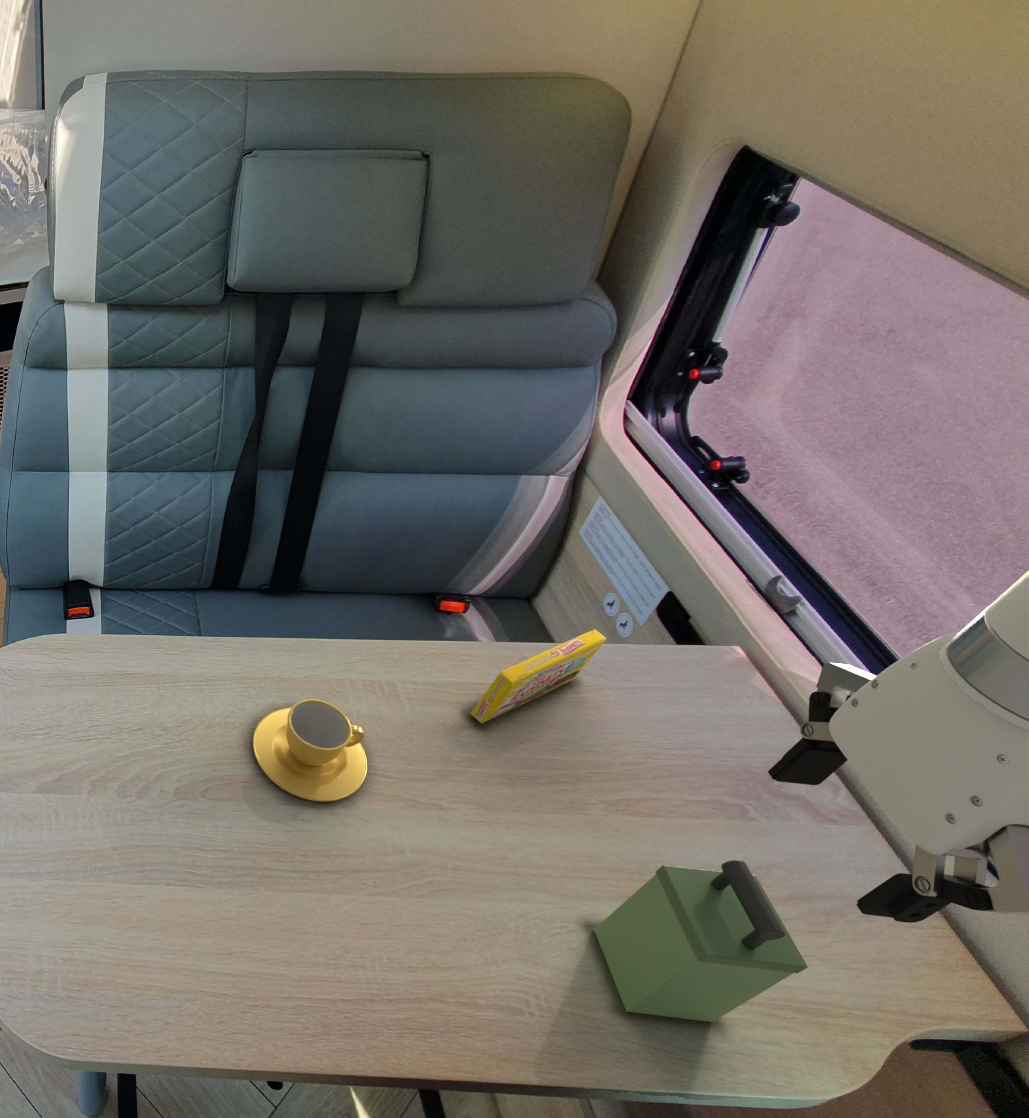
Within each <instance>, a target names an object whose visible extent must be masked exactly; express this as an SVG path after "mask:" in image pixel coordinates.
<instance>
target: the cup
mask: <svg viewBox="0 0 1029 1118" xmlns="http://www.w3.org/2000/svg"><path fill="white" fill-rule="evenodd" d="M364 738H365V732H364V729H363V727H362V726H360V725H357V724H355V725H353V724H351V722H350V720H349V718H348V717H347V716H346V714H345V713H344V711H342V710H341V709H340V708H338V707H337V706H335V705H333V704H331V703H330V702H327V701H324V700H320V699H313V698H311V699H304V700H300V701H298V702H296V703H294V704H293V705H292V706H287V707H282V708H278V709H276V710H273V711H271V712H269V713H268V714H265V716H264V717H262V718H261V720H260V721H259V722H258V723H257V724H256V727H255V729H254V732H253V736H252V749H253V753H254V757H255V759H256V761H257V763H258V765H259V767H260V768H261V769H262V771H263V773H264V774H265V775H266V776H267V777H268V779H270V781H272V782H273V783H274V784H276V785H277V786H278V787H279V788H281V789H282V790H283V791H285V792H287V793H289V794H292V795H293V796H296V797H299V798H301V799H305V800H308V801H313V802H335V801H339V800H343V799H346V798H348V797H350V796H351V795H353V794H354V793H356V792H357V791H358V790H359V789H360V788H361V786H362V785H363V783H364V781H365V779H366V776H367V772H368V761H367V756H366V752H365V750H364V747H363V745H362V744H361V742H362V741H363V740H364Z"/></svg>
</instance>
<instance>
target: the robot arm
mask: <svg viewBox="0 0 1029 1118" xmlns="http://www.w3.org/2000/svg"><path fill="white" fill-rule="evenodd" d="M821 667H822V668H821V671H820V675H819V677H818V680H817V683H816V688H817V690H816V691H813V692H812V693H811V694H810V695H809V696H808V697H809V698H808V718H807V720H808V721H803V722H802V723H801V724H800V725H799V733H800V735H801V739H800V740H798V741H797V742H796V743H795V744H794V745H793V746H792V747H791V748H790V749H788V750H787V751H786V752H785V753H784V754H783V756H782V757H781V758H779V760H778V761H777V762H776V763H775V764H774V765H773V766H771V768H770V769H769V770H767V773H768V775H769V777H770V778H771V779H772V780H773V781H776V782H780V783H788V784H797V785H807V786H808V785H809V786H819V785H820V784H822V783H823V782H824V781H826V780H827V779H828V778H829V777H831V775H832V774H833V773H835V772H836V771H837V770H839V768H841V767H842V766H843V765H844V764H845V763H847V761H848V762H849V764H850V765H851V766H852V768H853V769H854V770H855V772H856V773H857V775H858V776H859V777H860V779H862V781H863V782H864V784H865V785H866V786H867V788H868V789H869V790H870V792H871V793H872V794H873V796H874V797H875V798H876V800H877V801H878V802H879V803H880V805H881V806H882V807H883V808H884V810H885V811H886V812H887V814H888V815H889V816H890V817H891V819H892V820H893V821H894V822H895V824H896V825H897V826H898V827H899V828H900V830H901V831H902V832H903V833H904V834H905V835H906V837H907V838H908V839H910V841H912V842H913V843H914V844H915V849H914V856H913V865H912V873H903V872H900V873H895V874H894V875H892V876H890V877H889V878H888V879H886V880H885V881H883V882H881V883H880V884H879V885H878V886H876V887H875V888H873V889H872V890H870V891H869V892H867V893H866V894H864V895H862V896H861V897H859V898H858V899H857V900H856V908H858V910H859V911H860V913H861V914H862V915H867V916H876V917H881V918H883V917H885V918H892V919H893V920H894V921H895V922H898V923H908V924H912V923H919V922H921V921H925V920H927V918H929V917H931V916H932V915H934V914H936V913H937V912H938V911H941V910H942V909H944V908H945V907H947V906H949V905H950V904H954V905H957V906H960V907H963V908H966V909H969V910H972V911H979V912H980V911H981V912H987V913H997V914H1005V915H1007V914H1008V915H1009V914H1015V915H1029V570H1028V571H1026V572H1025V573H1024V574H1023V575H1022V576H1021V577H1019V578H1018V580H1017V581H1015V582H1014V583H1013V584H1012V585H1011V586H1010V587H1008V588H1007V589H1006V590H1005V591H1004V592H1003V593H1002V594H1001V595H1000V596H999V597H997V598H996V599H995V600H994V601H993V602H992V603H991V604H990V605H988V606H987V607H986V608H985V609H984V610H982V612H980V613H979V614H978V615H977V616H975V618H974V619H972V620H971V621H970V622H969V623H968V624H966V626H965V627H964V628H963V629H961V630H960V631H959V632H958V631H956V632H949V633H946V634H943V635H941V636H938V637H937V638H935V639H933V640H930V641H929V642H927V643H924V644H923V645H921V646H920V647H917V648H916V649H914V650H912V651H910V652H909V653H907V654H906V655H904V656H903V657H901V658H899V659H898V660H897V661H895V662H894V663H892V664H890V665H888V667H886V668H885V669H884V670H883V671H882V670H881V672H879V673H878V674H877V675H875V674H873V673H871V672H868V671H865V670H863V669H861V668H858V667H855V666H854V665H851V664H846V663H837V662H836V663H835V662H826V663H824V664H823V666H821ZM852 692H853V694H852V695H851V693H852ZM850 695H851V696H850ZM848 696H849V697H848ZM947 856H949V857H954V862H953V863H954V864H953V871H952V874H945V869H946V860H947ZM989 858H991V860H992V861H993V863H994V866H995V869H996V874H997V876H998V883H997V885H996V886H993V887H992V886H989V885H986V876H987V869H988V860H989Z"/></svg>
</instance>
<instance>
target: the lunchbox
mask: <svg viewBox="0 0 1029 1118" xmlns="http://www.w3.org/2000/svg"><path fill="white" fill-rule="evenodd" d="M720 869H721V870H722V871H720V870H711V869H702V868H693V867H683V866H675V865H665V864H663V865H661V866H660V867H659V868H657V869H656V870H655V874H654V875H653V876H652V877H651V878H650V879H649V880H647V881H646V882H645V883H644V884H643V885H642V886H641V887H639V888H638V889H637V890H636V891H635V892H634V893H633V894H632V895H631V896H630V897H628V898H627V899H626V900H625V901H624V902H622V903H621V905H620V906H618V907H617V908H616V909H615V910H614V911H613V912H611V913H610V914H609V915H608V916H606V918H605V919H604V920H602V921H601V922H599V924H598V925H597V926H596V927H595V928H593V931H594V934H595V936H596V939H597V941H598V944H599V946H600V949H601V951H602V954H603V957H604V959H605V962H606V964H607V966H608V969H609V971H610V974H611V976H612V979H613V982H614V985H615V987H616V989H617V992H618V994H619V997H620V999H621V1002H622V1004H623V1007H624V1010H625V1011H626V1012H628V1013H636V1014H643V1015H653V1016H659V1017H667V1018H668V1017H669V1018H677V1019H684V1020H693V1021H701V1022H708V1023H713V1022H715V1021H717V1020H719V1019H720V1018H722V1017H723V1016H725V1015H727V1014H728V1013H730V1012H732V1011H733V1010H735V1009H737V1008H738V1007H740V1006H742V1005H743V1004H745V1003H747V1002H748V1001H750V1000H752V999H753V998H756V997H757V996H759V995H760V994H762V993H763V992H765V991H767V990H769V989H770V988H772V987H773V986H775V985H776V984H778V983H780V982H781V981H783V980H785V979H787V978H789V977H790V976H792V975H793V974H799V973H802V972H803V971H804V970H806V969H808V967H809V966H808V964H807V963H806V961H805V959H804V958H803V956H802V954H801V953H800V951H799V948H798V947H797V945H796V943H795V942H794V940H793V939H792V936H791V935H790V933H789V932H788V929H787V927H786V926H785V924H784V923H783V920H782V919H781V917H780V915H779V914H778V912H777V910H776V909H775V907H774V905H773V903H772V901H771V900H770V898H769V896H768V895H767V892H766V891H765V889H764V888H763V886H762V883H761V882H760V881H759V879H758V877H757V876H756V874H753V873H752V872H751V870H750V868H749V866H748V864H747V862H745V861H743V860H740V859H734V860H733V859H732V860H729V861H725V862H723V863H722V864H721V865H720Z"/></svg>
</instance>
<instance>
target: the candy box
mask: <svg viewBox="0 0 1029 1118" xmlns="http://www.w3.org/2000/svg"><path fill="white" fill-rule="evenodd" d="M606 641H607V637H606V636H604V635H603V634H601V632H599V631H598V630H597V629H593V630H590V631H587V632H585V633H583V634H581V635H578V636H575V637H573V638H572V639H570V640H567V641H565V642H562V643H560V644H559V645H556V646H554V647H551V648H550V649H547V650H545V651H543V652H542V653H539V654H536V655H534V656H532V657H530V658H528V659H526V660H523V661H521V662H518V663H516V664H514V665H512V666H510V667H508V668H505V669H503V670H502V671H500V672H499V673H498V675H497V676H496V678H495V679H494V680H493V682H492V683H491V685H490V686H489V687H488V689H486V691H485V692H484V694H483V696H482V697H481V698H480V700H479V701H478V702H477V704H476V705H475V707H473V709H472V711H471V712H470V715H471V716H472V717H473V718H474V719H475V720H476V721H477V722H478V723H480V724H484V723H486V722H489V721H490V720H492V719H495V718H496V717H498V716H501V715H502V714H505V713H507V712H509V711H511V710H513V709H516V708H518V707H520V706H522V705H524V704H526V703H528V702H530V701H532V700H535V699H537V698H539V697H541V696H543V695H545V694H547V693H549V692H551V691H552V690H555V689H557V688H559V687H561V686H563V685H565V684H568V683H569V682H572V681H574V680H576V678H577V677H578V675H579V674H580V673H581V672H582V670H583V669H584V668H585V667H586V666H587V664H588V663H589V662H590V661H591V659H592V658H593V657H594V656H595V655H596V653H597V652H598V651H599V650H600V648H601V647H602V645H603V644H604V643H605V642H606Z"/></svg>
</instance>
